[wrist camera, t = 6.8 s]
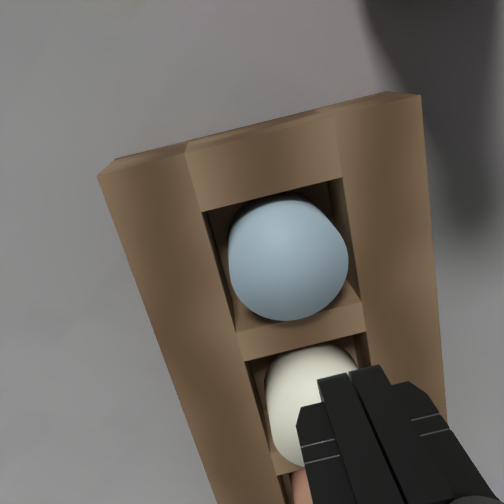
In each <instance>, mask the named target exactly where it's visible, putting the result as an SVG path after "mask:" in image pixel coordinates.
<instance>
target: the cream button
mask: <svg viewBox="0 0 504 504" xmlns="http://www.w3.org/2000/svg"><path fill="white" fill-rule="evenodd" d="M357 369H358V367H357V365H356V363H355V361H354V359H353V358H352V356H351V355H350V354H349V353H348V352H347V351H346V350H345V349H343V348H342V347H340V346H338V345H336V344H334V343H330V342H326V341H325V342H321V343H317V344H313V345H309V346H305V347H301V348H297V349H293V350H289V351H285V352H281V353H280V354H279V355H278V356H277V357H276V358H275V359H274V360H273V361H272V362H271V364H270V365H269V367H268V369H267V371H266V374H265V377H264V392H265V398H266V404H267V409H268V415H269V421H270V427H271V432H272V438H273V442H274V444H275V447H276V448H277V450H278V451H279V453H280V454H281V455H282V456H283V457H284V458H285V459H287V460H288V461H290V462H292V463H294V464H296V465H299V466H302V467H305V465H304V461H303V457H302V452H301V448H300V443H299V439H298V434H297V430H296V422H297V419H298V415H299V412H300V408H301V407H303V406H307V405H312V404H316V403H320V402H321V399H320V394H319V390H318V385H317V379H321V378H325V377H329V376H333V375H337V374H341V373H345V372H347V374H348V372H349V371H353V370H357Z"/></svg>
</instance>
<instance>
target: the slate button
mask: <svg viewBox="0 0 504 504" xmlns="http://www.w3.org/2000/svg"><path fill="white" fill-rule="evenodd" d="M227 252H228V262H229V272H230V279H231V283H232V286H233V289H234V291H235V293H236V295H237V296H238V298H239V299H240V301H241V302H242V303H243V304H244V305H245V306H246V307H247V308H249V309H250V310H251V311H253V312H254V313H256V314H258V315H260V316H263V317H265V318H269V319H273V320H279V321H290V320H297V319H302V318H305V317H308V316H310V315H313V314H315V313H317V312H318V311H320V310H322V309H323V308H324V307H326V306H327V305H328V304H329V303H330V302H331V301H332V300H333V299H334V298H335V297H336V296H337V294H338V293H339V291H340V290H341V288H342V286H343V284H344V282H345V279H346V276H347V271H348V252H347V248H346V245H345V242H344V240H343V238H342V237H341V235H340V233H339V232H338V231H337V229H336V228H335V227H334V226H333V225H332V223H331V222H330V221H329V220H328V219H327V217H326V216H325V215H324V214H323V212H322V211H321V210H320V209H319V208H318V206H317V205H316V204H314V203H313V202H312V201H311V200H309V199H308V198H306V197H304V196H303V195H300V194H297V193H294V192H290V191H284V192H280V193H276V194H272V195H268V196H264V197H260V198H256V199H252V200H249V201H248V202H247V203H245V204H244V205H243V206H242V207H241V208H240V209H239V210H238V212H237V213H236V214H235V216H234V217H233V219H232V221H231V223H230V226H229V229H228V233H227Z"/></svg>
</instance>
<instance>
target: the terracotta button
mask: <svg viewBox="0 0 504 504" xmlns="http://www.w3.org/2000/svg"><path fill="white" fill-rule="evenodd" d="M288 474H289V479H290V484H291V489H292V494H293V499H294V504H313V502H312V497H311V493H310V488H309V484H308V479H307V475H306V470H305V469H302V470H298V471H293V472H289V473H288Z"/></svg>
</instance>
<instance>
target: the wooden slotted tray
mask: <svg viewBox="0 0 504 504" xmlns="http://www.w3.org/2000/svg"><path fill="white" fill-rule="evenodd" d="M97 178H98V181H99V183H100V186H101V189H102V191H103V194H104V197H105V200H106V202H107V205H108V208H109V210H110V213H111V216H112V219H113V221H114V224H115V227H116V229H117V232H118V235H119V238H120V240H121V243H122V246H123V248H124V251H125V254H126V257H127V259H128V262H129V265H130V267H131V270H132V273H133V276H134V278H135V281H136V284H137V286H138V289H139V292H140V295H141V297H142V300H143V303H144V305H145V308H146V311H147V314H148V316H149V319H150V322H151V324H152V327H153V330H154V333H155V335H156V338H157V341H158V343H159V346H160V349H161V352H162V354H163V357H164V360H165V362H166V365H167V368H168V371H169V373H170V376H171V379H172V381H173V384H174V387H175V390H176V392H177V395H178V398H179V400H180V403H181V406H182V409H183V411H184V414H185V417H186V420H187V422H188V425H189V428H190V430H191V433H192V436H193V439H194V441H195V444H196V447H197V449H198V452H199V455H200V458H201V460H202V463H203V466H204V468H205V471H206V474H207V477H208V479H209V482H210V485H211V487H212V490H213V493H214V496H215V498H216V501H217V504H294V499H293V494H292V489H291V484H290V479H289V474H288V473H289V472H293V471H298V470H302V469H305V467H302V466H299V465H296V464H294V463H292V462H290V461H288V460H287V459H285V458H284V457H283V456H282V455H281V454H280V453H279V451H278V450H277V448H276V447H275V444H274V442H273V438H272V432H271V427H270V421H269V415H268V409H267V404H266V398H265V392H264V377H265V374H266V371H267V369H268V367H269V365H270V364H271V362H272V361H273V360H274V359H275V358H276V357H277V356H278V355H279V354H280V353H281V352H285V351H289V350H293V349H297V348H301V347H305V346H309V345H313V344H317V343H321V342H325V341H326V342H330V343H334V344H336V345H338V346H340V347H342V348H343V349H345V350H346V351H347V352H348V353H349V354H350V355H351V356H352V358H353V359H354V361H355V363H356V365H357V367H358V369H361V368H365V367H369V366H373V365H378V364H379V365H380V366H381V368H382V369H383V371H384V373H385V374H386V376H387V378H388V380H389V382H390V383H391V385H394V384H398V383H402V382H406V381H409V382H411V383H412V384H414V385H415V386H417V387H418V388H420V389H421V390H423V391H424V392H425V393H427V394H428V396H429V397H430V399H431V400H432V402H433V403H434V405H435V406H436V408H437V409H438V411H439V413H440V415H442V417H443V418H444V420H445V421H446V423H447V412H446V399H445V387H444V375H443V362H442V350H441V337H440V325H439V313H438V300H437V288H436V275H435V263H434V251H433V238H432V226H431V213H430V201H429V189H428V176H427V164H426V151H425V139H424V127H423V114H422V102H421V95H417V94H407V93H396V92H382V93H378V94H374V95H370V96H366V97H362V98H358V99H353V100H349V101H345V102H341V103H337V104H333V105H329V106H325V107H321V108H317V109H313V110H309V111H305V112H301V113H297V114H293V115H289V116H285V117H281V118H277V119H273V120H269V121H265V122H261V123H257V124H253V125H249V126H245V127H241V128H237V129H233V130H229V131H225V132H221V133H217V134H213V135H209V136H205V137H201V138H197V139H193V140H189V141H185V142H181V143H177V144H173V145H169V146H165V147H161V148H157V149H153V150H149V151H145V152H141V153H137V154H133V155H129V156H125V157H121V158H117V159H115V160H114V161H113V162H111V163H110V164H109V165H108V166H107V167H106V168H105V169H104V170H103V171H101V172H100V173H99V174H98V175H97ZM284 191H290V192H294V193H297V194H300V195H303V196H304V197H306V198H308V199H309V200H311V201H312V202H313V203H314V204H316V205H317V206H318V208H319V209H320V210H321V211H322V212H323V214H324V215H325V216H326V217H327V219H328V220H329V221H330V222H331V223H332V225H333V226H334V227H335V228H336V229H337V231H338V232H339V233H340V235H341V237H342V238H343V240H344V242H345V245H346V248H347V252H348V271H347V276H346V279H345V282H344V284H343V286H342V288H341V290H340V291H339V293H338V294H337V296H336V297H335V298H334V299H333V300H332V301H331V302H330V303H329V304H328V305H327V306H326V307H324V308H323V309H322V310H320V311H318V312H317V313H315V314H313V315H310V316H308V317H305V318H302V319H297V320H290V321H279V320H273V319H269V318H265V317H263V316H260V315H258V314H256V313H254V312H253V311H251V310H250V309H249V308H247V307H246V306H245V305H244V304H243V303H242V302H241V301H240V299H239V298H238V296H237V295H236V293H235V291H234V289H233V286H232V283H231V279H230V272H229V262H228V252H227V233H228V229H229V226H230V223H231V221H232V219H233V217H234V216H235V214H236V213H237V212H238V210H239V209H240V208H241V207H242V206H243V205H244V204H245V203H247V202H248V201H249V200H252V199H256V198H260V197H264V196H268V195H272V194H276V193H280V192H284Z"/></svg>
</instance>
